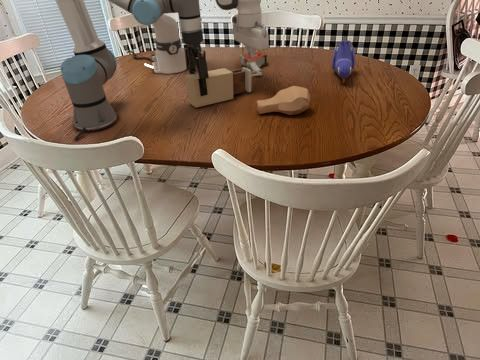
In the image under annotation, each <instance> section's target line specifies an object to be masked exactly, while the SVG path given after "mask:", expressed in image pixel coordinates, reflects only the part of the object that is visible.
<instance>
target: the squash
mask: <svg viewBox="0 0 480 360" xmlns="http://www.w3.org/2000/svg"><path fill="white" fill-rule="evenodd" d="M311 98H312V97H311V95H310V90H309V89H307V88H306V87H302V86H298V85H292V86H289V87H287V88H283V89H280V90H279V91H277V92H276V94H275V95H274V96H272V97H271V98H265V99H257V100H256V102H255V103H256V107H257V109H256V110H257V113H258V114H259V115H263V114H266V113H273V112H275V113H282V114H284V115H287V116H295V115H300V114H301V113H303V112H305V111H306V110H308V109H309V107H310V102H311Z"/></svg>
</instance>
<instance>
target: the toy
mask: <svg viewBox="0 0 480 360" xmlns="http://www.w3.org/2000/svg"><path fill="white" fill-rule="evenodd" d="M351 42H352V41H351V40H349V39H346V40H345V41H344V40H340V41H339V45H335V48H334V50H333V53H332V58H331V68H332V71H333V70H334V72H335V73H336V74H337V75H338V76H339V78H340V79H341V81H342V84H345V81H346V79H347V78H349V76H351V74H352V72H353V69H354V68H355V67H356V53H355V48H354V46H353V44H350V43H351Z"/></svg>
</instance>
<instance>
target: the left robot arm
mask: <svg viewBox="0 0 480 360" xmlns="http://www.w3.org/2000/svg"><path fill="white" fill-rule="evenodd" d="M54 1H55V4H56V5H57V8H58V10H59V12H60V14H61V16H62V19H63V21H64V24H65V26H66V28H67V30H68V32H69V34H70V37H71V40H72V42H73V44H74V47H73V49H72V51H73V56H71V57H68V58H66V59H64V60H63V61H62V62H61V64H60V66H59V68H60V72H61V77H62V80H63V82H64V84H65V87H66V90H67V93H68V96H69V99H70V101H71V104H72V108H73V114H72V117H73V118H72V119H73V125H74V128H75V129H76V131H78V133H77V134H76V135H75V137H74V141H78V140H79V138H80V137H81V136H82V134H83V133H92V132H99V131H102V130H105V129H107V128H110V127H111V126H113V125H115V124H116V122H117V121H118V116H117V113H116V111H115V110H114V108H113V107H112V105H111V103H110V102H109V101H108V99H107V96H106V92H105V90H104V87H103V86H104V85H106V83H107V82H108V81H109V80H111V78H113V76H114V75H115V73H116V71H117V68H118V61H117V58H116V56H115V54H114V53H113V51H112V50H110V49H108V47H107V45H106V42H105V41H104V40H102V39H100V38H99V36H98V33H97V31H96V29H95V26H94V24H93V21H92V19H91V16H90V13H89V11H88V9H87V6H86V4H85V2H84V0H54ZM107 1H108V2H110V3H112V4H113V5H115V6H117V7H119V8H121V9H123V10H124V11H126V12H128V13H130V14H131V15H132V16H133V18H134V19H135V20H136V22H137V23H139V24H140V25H143V26H151V25H152V24H153V23H155V22H156V21H157V20H158V19H159V18H160V17H161V16H162V15H163V14H164V15H167V14H178V22H179V23H178V24H179V28H180V29H179V30H180V31H181V32H180V34H181V42H182V43H183V44H182V46H183V47H182V48H183V49H184V51H185V59H186V68H187V69H186V71H188V74H189V75H191V74H196V73H198V75H199V79H198V80H199V88H200V95H201V96H205V95H208V93H207V84H206V79H207V78H209V76H208V71H209V70H208V63H207V58H206V55H207V54H206V53H207V52H206V50H202V47H201V43H202V42H203V41H204V34H203V32H204V31H203V30H202V28H203V27H202V20H203V19H202V17H201V7H200V0H107Z"/></svg>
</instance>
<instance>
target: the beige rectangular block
mask: <svg viewBox="0 0 480 360" xmlns="http://www.w3.org/2000/svg"><path fill="white" fill-rule="evenodd" d="M231 71H232V70H229V69H228V68H225V67H223V68H217V69H213V70H212V69H211V70H208V76H209V78H207V79H206V84H207V93H208V95H205V96H201V95H200V88H199V80H198V79H199V75H198V72H197V73H196V72H195V73H196V74H191V75H190V74H186V75H185V78H186V91H187V102H188V103H189V104H190V105H192V106H193V107H194V108H200V107H204V106H209V105H214V104H218V103H221V102H226V101H229V100H234V94H233V72H231Z"/></svg>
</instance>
